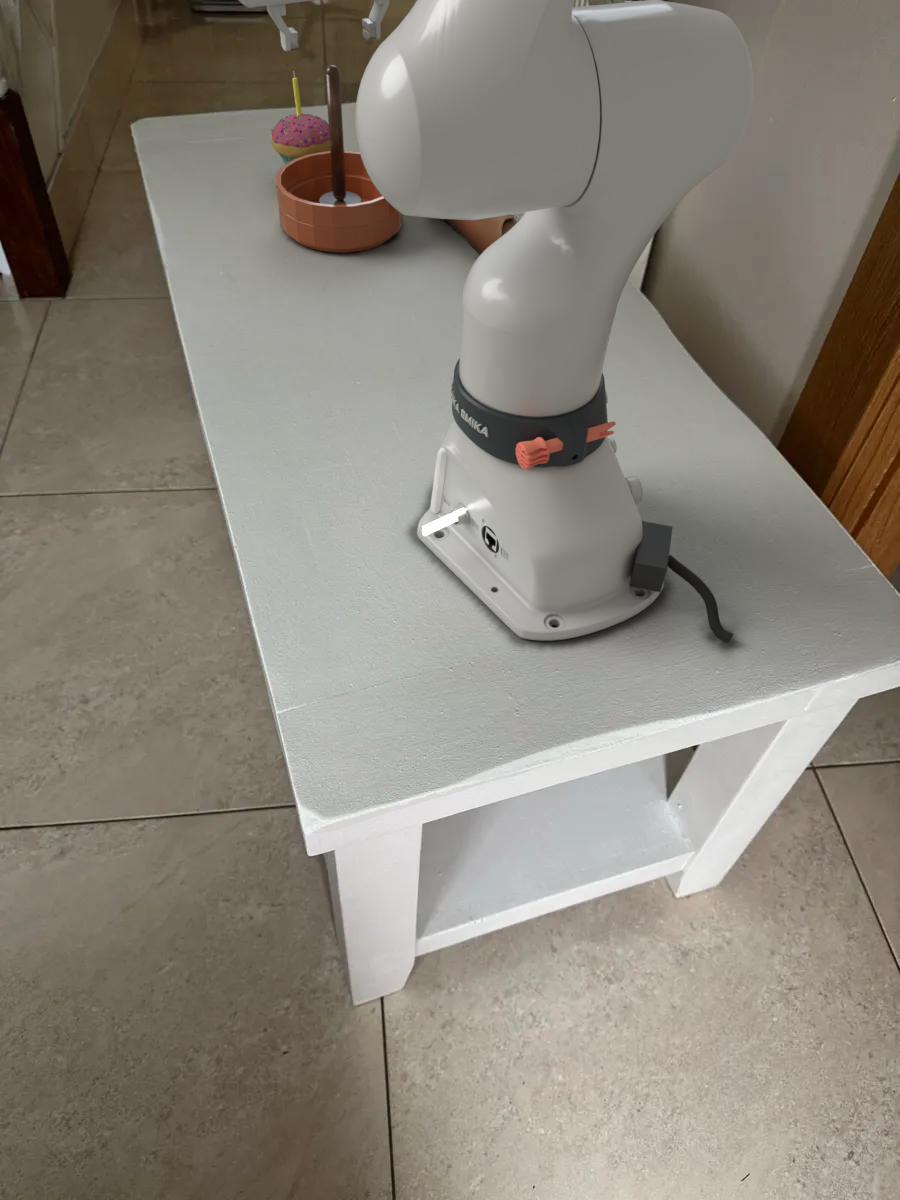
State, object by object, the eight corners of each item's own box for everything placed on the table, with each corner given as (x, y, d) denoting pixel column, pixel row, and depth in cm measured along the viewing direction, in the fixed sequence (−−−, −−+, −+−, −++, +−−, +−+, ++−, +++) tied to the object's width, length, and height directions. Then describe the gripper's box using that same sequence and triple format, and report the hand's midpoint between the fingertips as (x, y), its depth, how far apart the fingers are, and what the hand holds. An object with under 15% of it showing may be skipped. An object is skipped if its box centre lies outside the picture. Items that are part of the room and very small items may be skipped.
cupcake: (267, 163, 128) (256, 68, 119) (326, 154, 131) (320, 60, 122) (284, 190, 123) (274, 92, 114) (345, 180, 125) (340, 84, 116)
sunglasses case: (556, 260, 112) (536, 219, 106) (510, 298, 112) (488, 259, 107) (486, 197, 122) (464, 156, 117) (444, 232, 123) (421, 193, 118)
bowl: (422, 241, 115) (422, 193, 110) (305, 265, 110) (301, 216, 106) (374, 189, 124) (373, 143, 119) (265, 209, 119) (259, 162, 115)
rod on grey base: (368, 224, 116) (362, 70, 103) (329, 231, 114) (318, 76, 101) (352, 206, 119) (345, 54, 106) (314, 213, 117) (301, 60, 104)
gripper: (228, -99, 86) (248, 65, 96) (428, -114, 93) (427, 41, 103) (209, -113, 90) (230, 46, 100) (402, -127, 96) (404, 24, 107)
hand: (331, 43), depth 102 cm, fingers open, 8 cm apart
